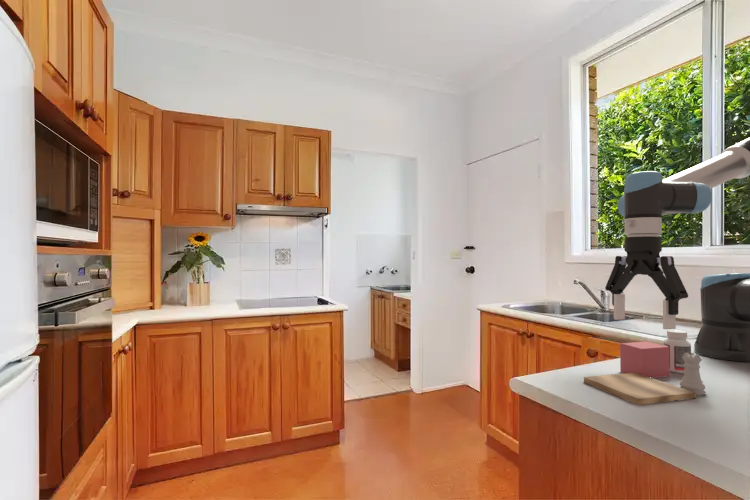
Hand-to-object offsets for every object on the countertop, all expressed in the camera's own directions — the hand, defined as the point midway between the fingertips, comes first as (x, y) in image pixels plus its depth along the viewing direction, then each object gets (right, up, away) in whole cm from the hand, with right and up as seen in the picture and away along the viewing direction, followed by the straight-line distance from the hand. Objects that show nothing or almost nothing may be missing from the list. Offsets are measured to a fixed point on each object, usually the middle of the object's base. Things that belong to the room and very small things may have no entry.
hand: (642, 323), depth 96 cm
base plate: (-9, -12, -12) cm, 19 cm away
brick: (0, -12, 0) cm, 12 cm away
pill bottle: (+10, -12, +2) cm, 16 cm away
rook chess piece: (+1, -12, -13) cm, 18 cm away
